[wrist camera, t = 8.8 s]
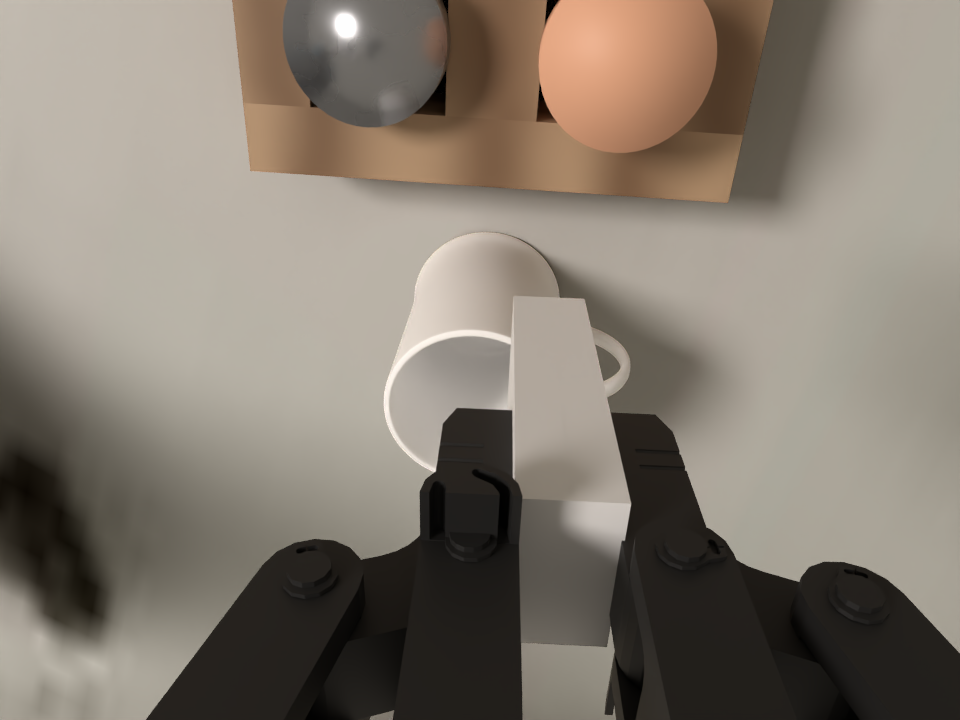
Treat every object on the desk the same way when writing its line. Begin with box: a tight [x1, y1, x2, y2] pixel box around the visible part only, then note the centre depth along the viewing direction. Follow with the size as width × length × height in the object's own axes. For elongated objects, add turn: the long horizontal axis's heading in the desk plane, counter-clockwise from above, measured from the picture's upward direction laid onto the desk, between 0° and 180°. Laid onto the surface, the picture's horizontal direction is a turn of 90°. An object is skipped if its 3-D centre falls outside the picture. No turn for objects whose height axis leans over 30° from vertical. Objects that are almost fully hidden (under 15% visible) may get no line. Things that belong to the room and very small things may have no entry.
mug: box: [384, 232, 630, 472], centre depth 37 cm, size 12×8×12 cm
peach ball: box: [538, 0, 717, 153], centre depth 29 cm, size 6×6×8 cm
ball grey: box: [283, 0, 451, 128], centre depth 31 cm, size 6×6×8 cm
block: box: [232, 0, 774, 203], centre depth 32 cm, size 22×12×6 cm, turn 87°
